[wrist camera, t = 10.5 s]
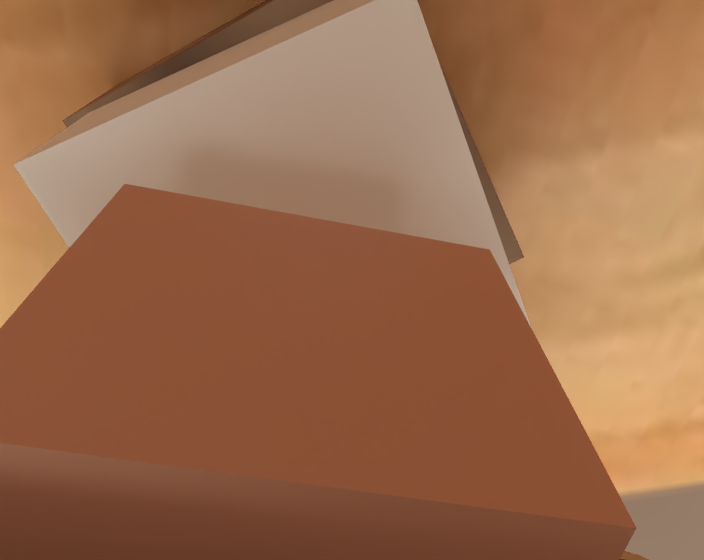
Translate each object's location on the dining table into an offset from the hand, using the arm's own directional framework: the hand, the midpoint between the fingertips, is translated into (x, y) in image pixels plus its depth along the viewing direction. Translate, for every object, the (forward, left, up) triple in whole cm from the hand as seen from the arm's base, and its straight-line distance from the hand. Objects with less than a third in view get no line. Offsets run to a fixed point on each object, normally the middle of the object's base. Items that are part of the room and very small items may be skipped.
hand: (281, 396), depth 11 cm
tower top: (0, 0, -10) cm, 10 cm away
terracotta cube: (0, 0, -1) cm, 1 cm away
